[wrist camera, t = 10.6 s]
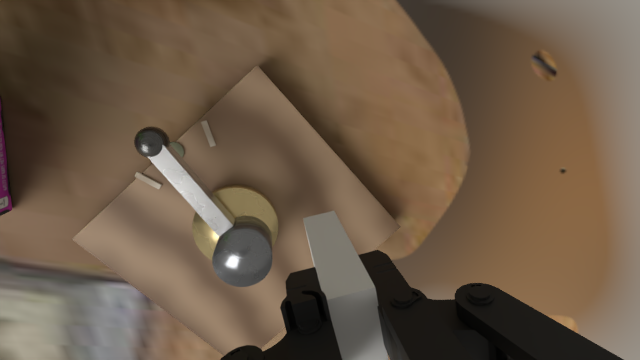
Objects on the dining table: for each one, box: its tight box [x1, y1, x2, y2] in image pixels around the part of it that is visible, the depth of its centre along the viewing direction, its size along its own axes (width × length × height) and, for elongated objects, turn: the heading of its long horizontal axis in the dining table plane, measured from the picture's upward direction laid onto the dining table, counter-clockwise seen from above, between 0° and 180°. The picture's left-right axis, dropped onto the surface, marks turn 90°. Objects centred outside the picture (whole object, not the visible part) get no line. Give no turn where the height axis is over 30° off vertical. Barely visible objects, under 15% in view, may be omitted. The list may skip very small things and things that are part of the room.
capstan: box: [134, 127, 278, 287], centre depth 30 cm, size 16×8×6 cm, turn 35°
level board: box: [72, 66, 400, 356], centre depth 36 cm, size 24×22×2 cm
